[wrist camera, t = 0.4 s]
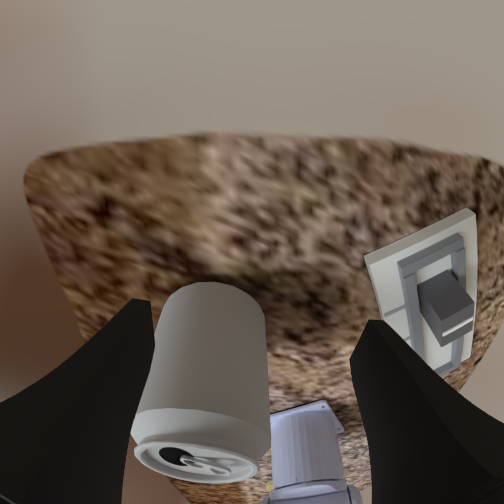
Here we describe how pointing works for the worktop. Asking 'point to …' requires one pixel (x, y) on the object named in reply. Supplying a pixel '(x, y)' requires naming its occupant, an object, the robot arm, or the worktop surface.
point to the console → (419, 270)
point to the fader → (446, 307)
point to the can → (206, 388)
